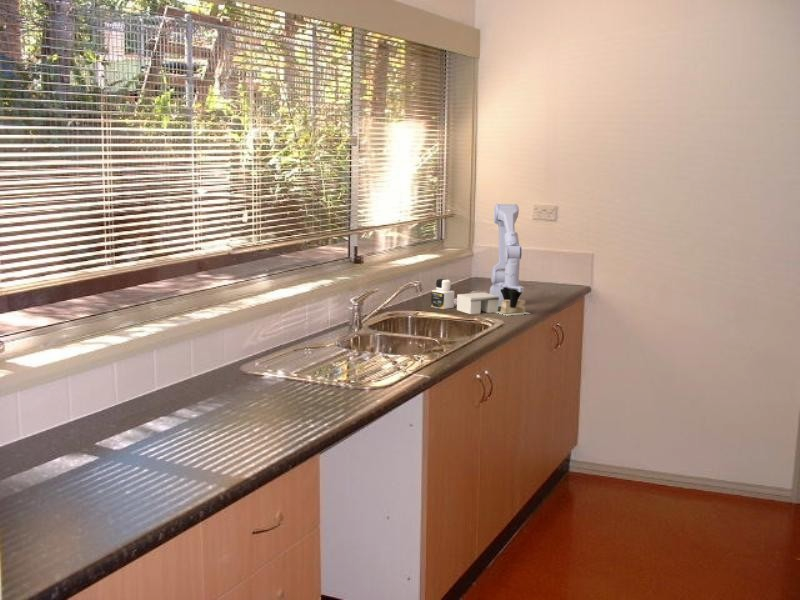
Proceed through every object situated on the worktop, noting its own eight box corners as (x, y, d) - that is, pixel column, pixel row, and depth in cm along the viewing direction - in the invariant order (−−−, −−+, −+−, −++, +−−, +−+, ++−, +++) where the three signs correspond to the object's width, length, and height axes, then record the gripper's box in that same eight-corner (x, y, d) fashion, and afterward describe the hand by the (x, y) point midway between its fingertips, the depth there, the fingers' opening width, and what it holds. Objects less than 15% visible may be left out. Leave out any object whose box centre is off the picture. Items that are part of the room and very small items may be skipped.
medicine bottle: (430, 306, 404) (431, 279, 402) (441, 305, 409) (442, 277, 407) (443, 309, 399) (444, 281, 397) (454, 307, 404) (455, 279, 402)
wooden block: (519, 311, 399) (520, 299, 398) (524, 312, 396) (525, 300, 395) (500, 311, 394) (501, 299, 393) (505, 313, 391) (506, 301, 390)
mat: (495, 312, 395) (495, 311, 395) (518, 310, 401) (518, 309, 401) (507, 316, 389) (507, 315, 388) (530, 314, 395) (530, 313, 395)
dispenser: (456, 310, 398) (457, 294, 397) (483, 308, 406) (484, 292, 404) (470, 314, 390) (471, 298, 389) (498, 312, 397) (499, 296, 396)
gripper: (493, 272, 396) (492, 304, 398) (515, 277, 383) (513, 310, 386) (507, 271, 399) (505, 303, 401) (528, 276, 387) (526, 309, 389)
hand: (510, 306), depth 394 cm, fingers closed on wooden block, 3 cm apart
